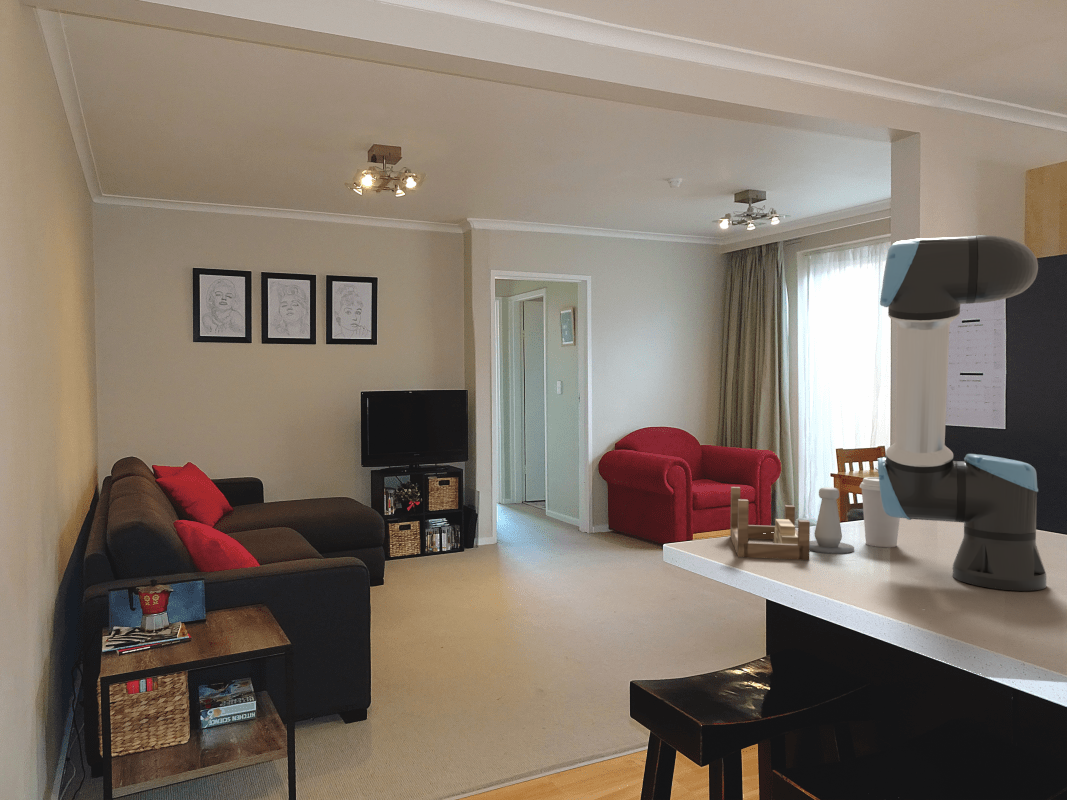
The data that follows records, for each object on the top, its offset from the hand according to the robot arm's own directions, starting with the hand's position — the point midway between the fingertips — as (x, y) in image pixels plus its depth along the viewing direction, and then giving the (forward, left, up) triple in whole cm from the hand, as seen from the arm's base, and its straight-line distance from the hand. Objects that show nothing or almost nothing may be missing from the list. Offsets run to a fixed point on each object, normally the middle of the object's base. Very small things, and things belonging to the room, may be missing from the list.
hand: (915, 418), depth 185 cm
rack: (-16, +35, -29) cm, 48 cm away
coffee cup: (-7, +9, -29) cm, 31 cm away
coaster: (-14, +22, -29) cm, 39 cm away
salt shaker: (-14, +22, -28) cm, 39 cm away
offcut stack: (-16, +31, -29) cm, 45 cm away
